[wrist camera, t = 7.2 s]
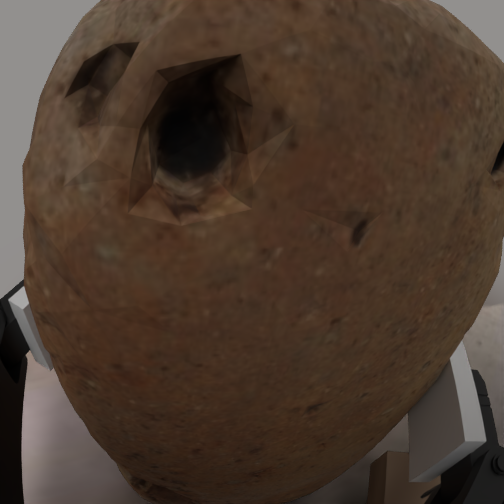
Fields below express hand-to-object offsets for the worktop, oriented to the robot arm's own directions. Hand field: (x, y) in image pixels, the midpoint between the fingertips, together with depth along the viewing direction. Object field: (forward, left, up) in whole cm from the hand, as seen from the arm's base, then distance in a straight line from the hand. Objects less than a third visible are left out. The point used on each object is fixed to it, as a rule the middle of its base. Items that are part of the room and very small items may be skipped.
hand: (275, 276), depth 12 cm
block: (0, +3, -11) cm, 12 cm away
